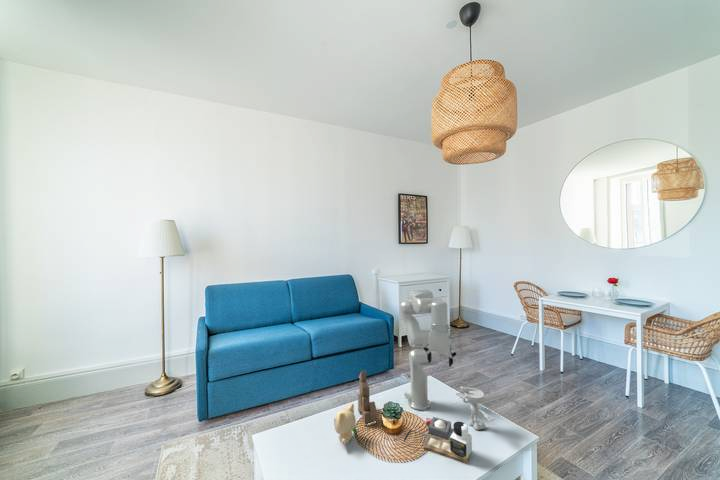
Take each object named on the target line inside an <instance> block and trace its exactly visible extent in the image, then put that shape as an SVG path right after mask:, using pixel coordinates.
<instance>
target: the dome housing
mask: <svg viewBox="0 0 720 480" xmlns="http://www.w3.org/2000/svg"><path fill="white" fill-rule="evenodd" d="M431 419H432V421H431V423H430V425H429V427H428V435H430V434H431V435H432V436H435V437H438V438H441V439H445V440H448V441H449V438H450V433H451V431H452V421H450V420H447V419H446V420H445V419H443V418H439V417H435V416H432V418H431ZM437 420H442V421H443V422H444V423H445V424H446V428H445V430H444V429H441V428H437V427H434V423H435V421H437Z"/></svg>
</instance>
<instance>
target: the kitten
mask: <svg viewBox="0 0 720 480" xmlns="http://www.w3.org/2000/svg"><path fill="white" fill-rule="evenodd" d="M354 409H355V405H354V403H351V404H350V405H349V406H348V408H342V409H340V410H339V411H338V412H337V414H336V416H335V417H334V420H333V421H334V422H333V423H334V424H333V425H334V430H335V432H336V433H337V435H338V439H339V440H340V441H341V444H342V445H346V444H348V443H349V441H350V440H352V437H353V434H356V433H357V430H356V425H357V423H356V422H357V421H356V415H355V414H354V412H355V410H354ZM355 432H356V433H355Z"/></svg>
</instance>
